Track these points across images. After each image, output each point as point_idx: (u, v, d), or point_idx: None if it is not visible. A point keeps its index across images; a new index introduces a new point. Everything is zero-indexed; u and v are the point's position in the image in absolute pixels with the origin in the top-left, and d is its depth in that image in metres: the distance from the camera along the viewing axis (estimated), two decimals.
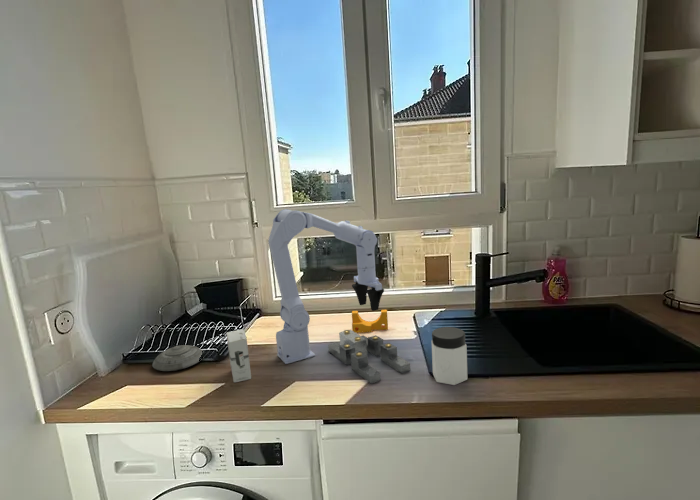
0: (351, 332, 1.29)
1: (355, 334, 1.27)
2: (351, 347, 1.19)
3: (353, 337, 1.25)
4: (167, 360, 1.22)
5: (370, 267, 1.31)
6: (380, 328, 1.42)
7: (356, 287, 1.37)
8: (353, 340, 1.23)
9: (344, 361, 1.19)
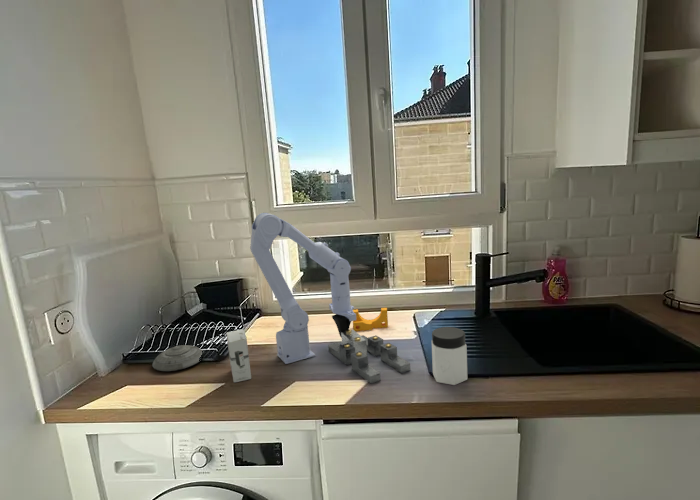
0: (353, 332, 1.29)
1: (356, 334, 1.27)
2: (351, 347, 1.19)
3: (353, 337, 1.24)
4: (167, 360, 1.22)
5: (344, 296, 1.27)
6: (380, 326, 1.44)
7: None
8: (353, 340, 1.22)
9: (344, 361, 1.19)
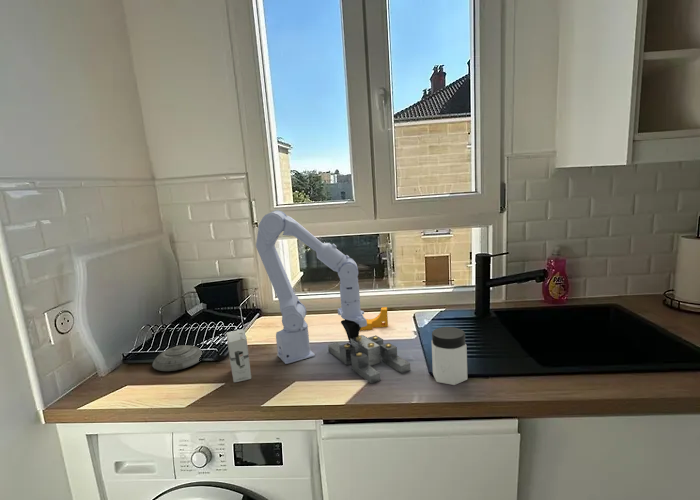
0: (363, 337, 1.24)
1: (367, 340, 1.22)
2: (351, 347, 1.19)
3: (366, 343, 1.19)
4: (167, 360, 1.22)
5: (354, 301, 1.21)
6: (380, 325, 1.45)
7: None
8: (366, 346, 1.17)
9: (344, 361, 1.19)
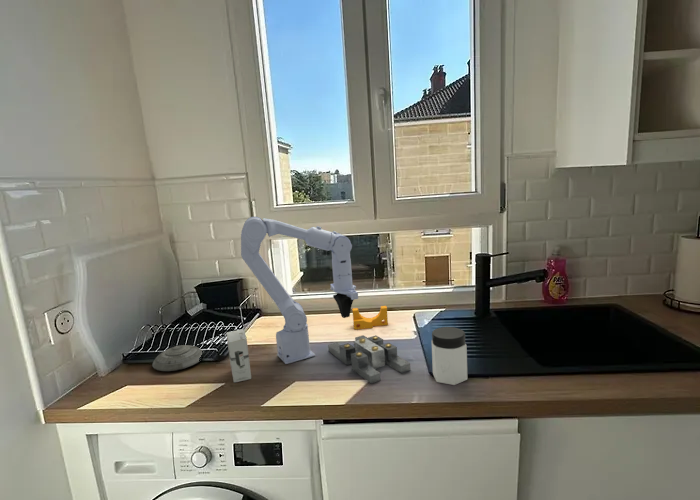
0: (366, 340, 1.22)
1: (371, 343, 1.20)
2: (351, 347, 1.19)
3: (370, 346, 1.17)
4: (167, 360, 1.22)
5: (346, 275, 1.23)
6: (380, 324, 1.46)
7: None
8: (370, 350, 1.15)
9: (344, 361, 1.19)
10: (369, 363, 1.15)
